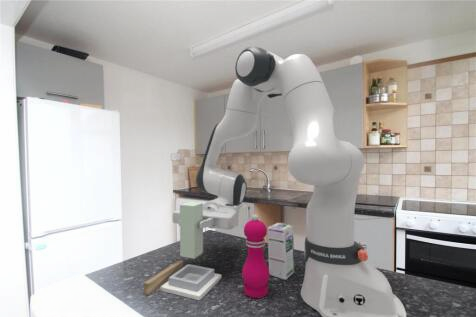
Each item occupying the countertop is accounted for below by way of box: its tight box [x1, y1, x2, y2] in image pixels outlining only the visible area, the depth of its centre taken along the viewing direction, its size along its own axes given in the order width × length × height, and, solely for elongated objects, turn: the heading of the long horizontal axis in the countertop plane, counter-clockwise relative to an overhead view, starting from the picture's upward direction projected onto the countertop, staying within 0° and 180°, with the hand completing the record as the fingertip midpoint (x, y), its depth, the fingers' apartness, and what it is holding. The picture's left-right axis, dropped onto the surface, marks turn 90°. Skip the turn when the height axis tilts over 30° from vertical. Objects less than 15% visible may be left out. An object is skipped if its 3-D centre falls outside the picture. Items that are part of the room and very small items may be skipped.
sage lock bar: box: [179, 201, 204, 259], centre depth 67 cm, size 4×4×14 cm
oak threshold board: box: [143, 259, 185, 296], centre depth 69 cm, size 2×15×3 cm, turn 157°
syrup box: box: [267, 222, 295, 281], centre depth 72 cm, size 6×6×14 cm
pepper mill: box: [241, 214, 271, 299], centre depth 63 cm, size 7×7×20 cm
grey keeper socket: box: [159, 263, 223, 301], centre depth 67 cm, size 12×12×3 cm
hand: (189, 224), depth 66 cm, fingers closed on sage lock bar, 4 cm apart
